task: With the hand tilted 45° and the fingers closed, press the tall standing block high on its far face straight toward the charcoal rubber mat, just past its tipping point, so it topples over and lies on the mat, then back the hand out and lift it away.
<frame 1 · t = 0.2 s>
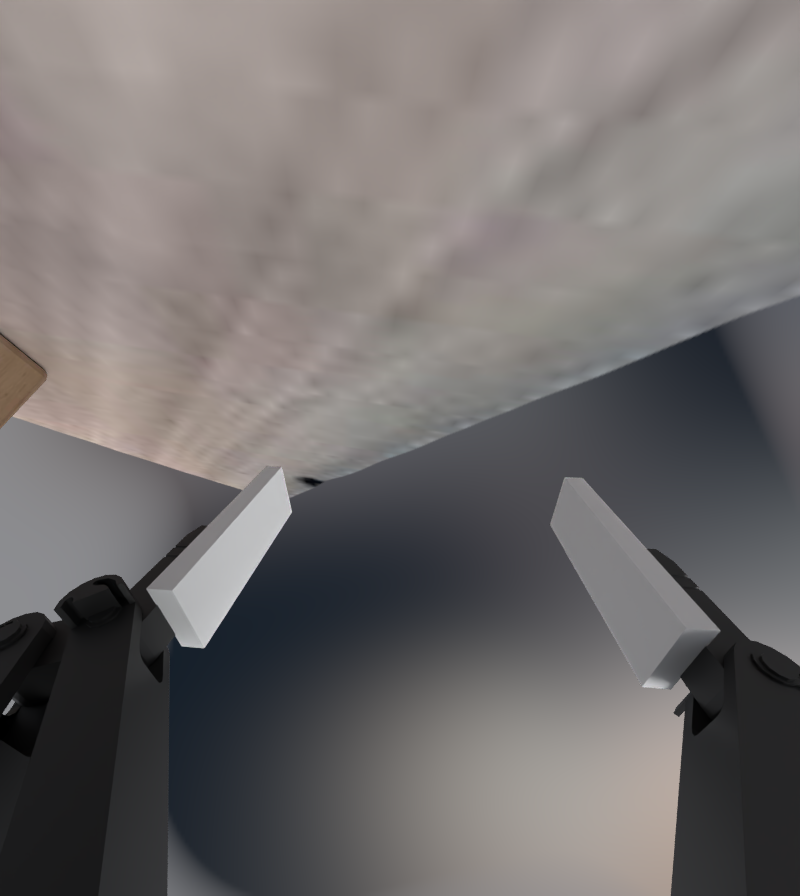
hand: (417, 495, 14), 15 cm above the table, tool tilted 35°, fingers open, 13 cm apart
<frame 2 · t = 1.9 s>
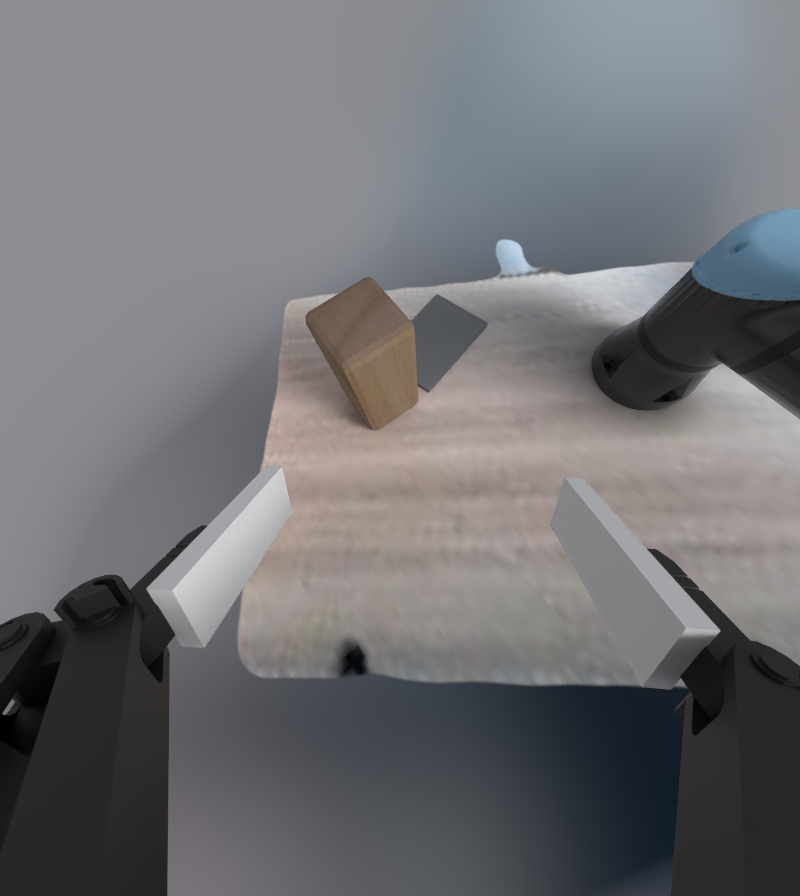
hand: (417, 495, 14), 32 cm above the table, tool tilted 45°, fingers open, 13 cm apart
block: (382, 398, 52), on the table
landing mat: (433, 341, 54), on the table
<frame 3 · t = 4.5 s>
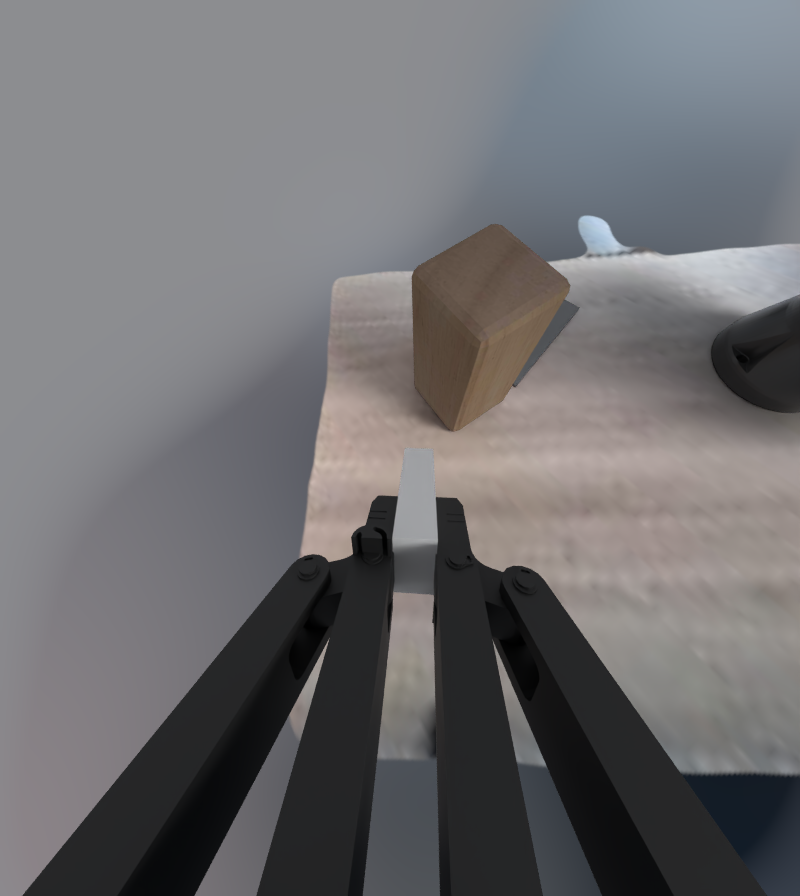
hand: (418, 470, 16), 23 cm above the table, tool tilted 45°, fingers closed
block: (458, 393, 43), on the table
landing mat: (514, 327, 45), on the table
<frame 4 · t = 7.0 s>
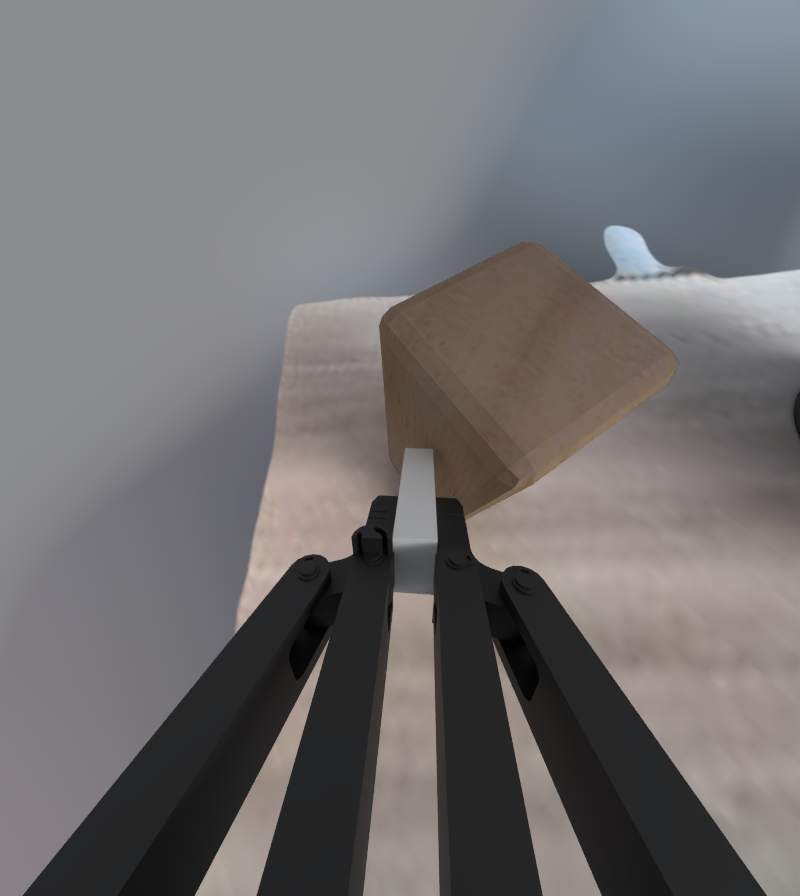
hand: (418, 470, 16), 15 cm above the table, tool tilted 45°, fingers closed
block: (449, 468, 31), on the table, touching gripper
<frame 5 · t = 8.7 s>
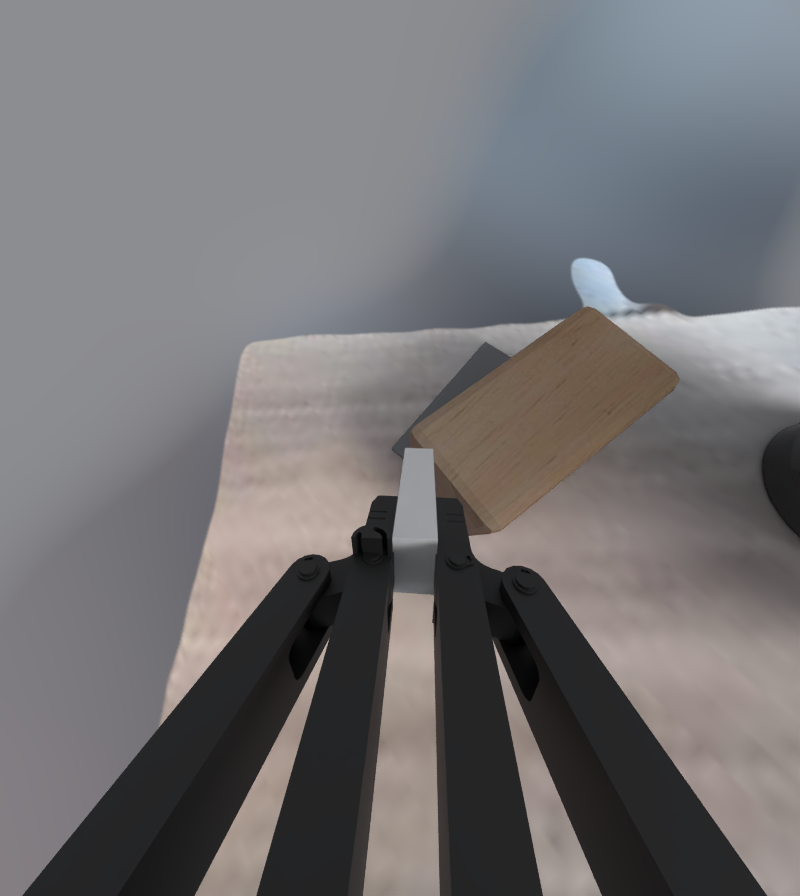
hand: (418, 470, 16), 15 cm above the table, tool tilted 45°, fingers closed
block: (438, 493, 25), point 5 cm above the table, touching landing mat
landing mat: (482, 422, 32), on the table
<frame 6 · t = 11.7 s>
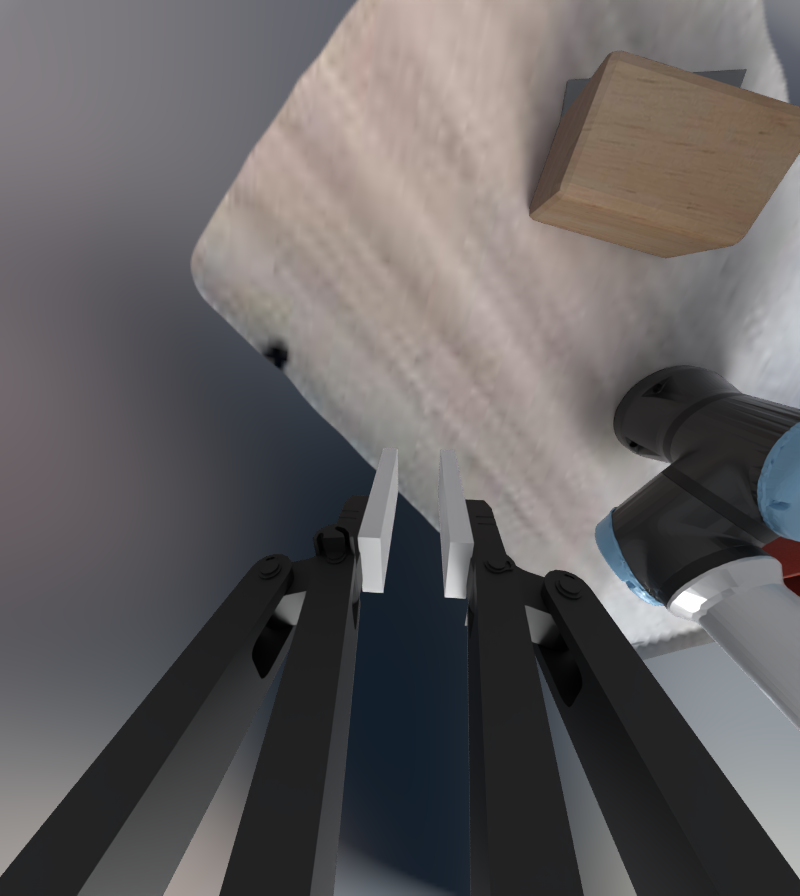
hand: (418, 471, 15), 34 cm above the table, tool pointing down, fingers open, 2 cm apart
plant pot: (729, 524, 56), on the table
block: (556, 149, 30), point 5 cm above the table, touching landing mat
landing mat: (632, 152, 33), on the table
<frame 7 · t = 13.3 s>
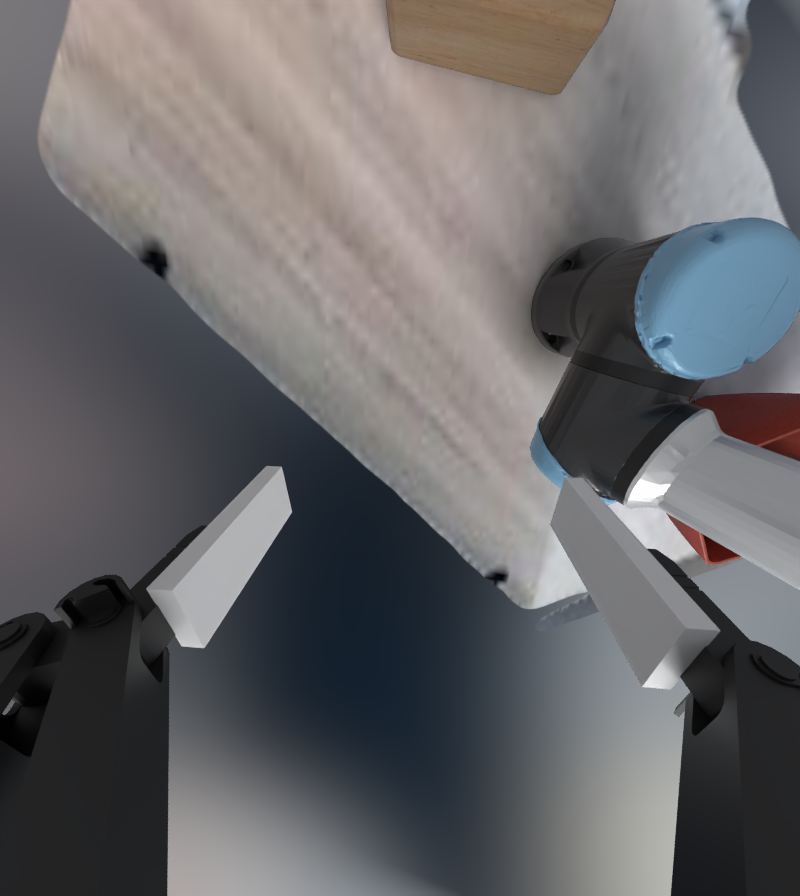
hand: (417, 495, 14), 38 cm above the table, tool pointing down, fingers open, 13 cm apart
plant pot: (675, 439, 51), on the table
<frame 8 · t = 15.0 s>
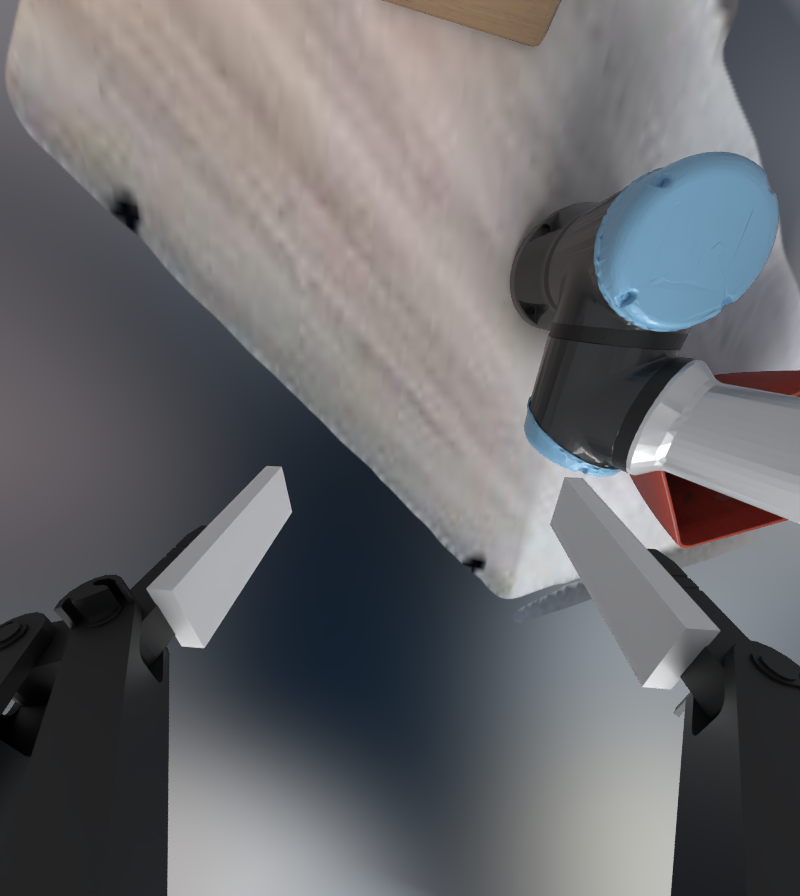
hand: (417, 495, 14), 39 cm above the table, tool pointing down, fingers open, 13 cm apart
plant pot: (656, 423, 50), on the table
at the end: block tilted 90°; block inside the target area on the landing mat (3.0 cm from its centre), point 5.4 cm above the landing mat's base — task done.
